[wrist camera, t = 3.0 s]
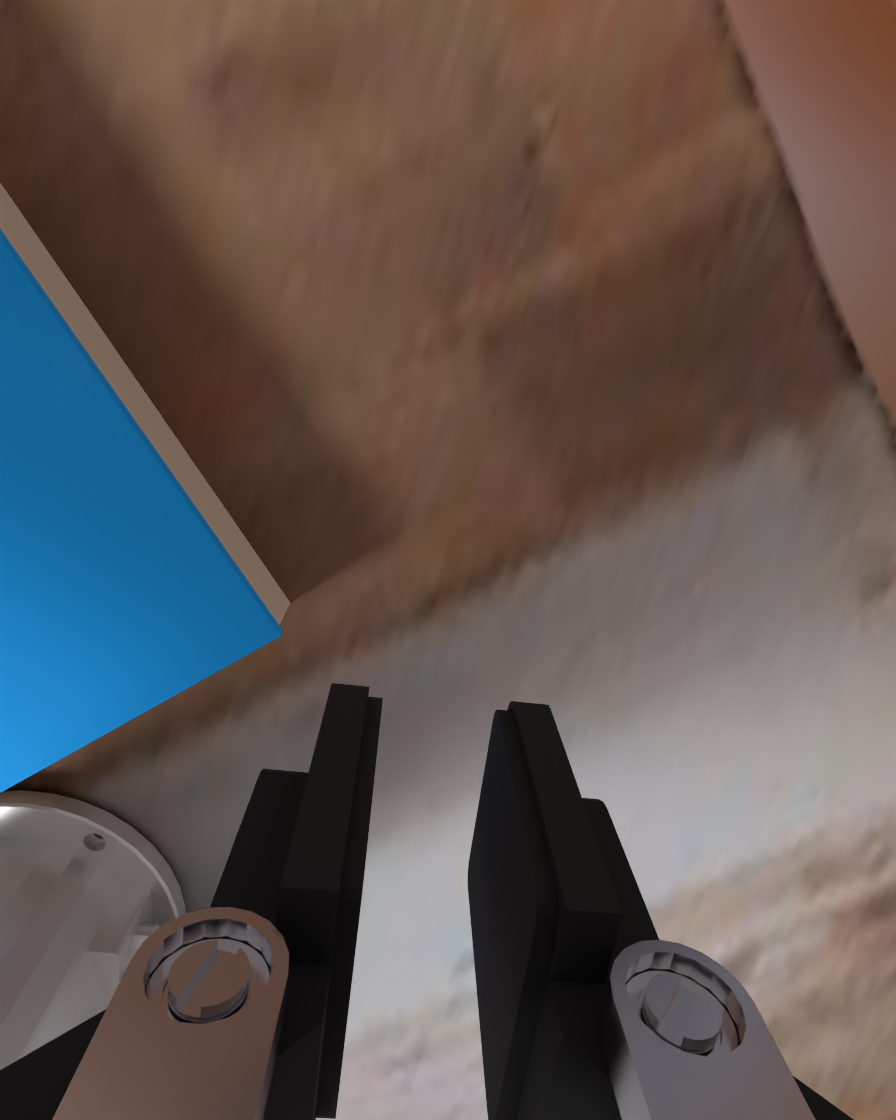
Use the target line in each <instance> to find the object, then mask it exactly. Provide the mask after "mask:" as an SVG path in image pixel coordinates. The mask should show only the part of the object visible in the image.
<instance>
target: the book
mask: <svg viewBox="0 0 896 1120" xmlns="http://www.w3.org/2000/svg"><path fill="white" fill-rule="evenodd" d="M289 605H290V601H289V600H288V599H287V597H286V596H285V594H284V593H283V591H282V590H281V588H280V587H279V586H278V584H277V583H276V581H275V580H274V578H273V577H272V575H271V574H270V572H269V571H268V570H267V568H266V567H265V565H264V564H263V562H262V561H261V559H260V558H259V557H258V555H257V554H256V552H255V551H254V549H253V548H252V546H251V545H250V544H249V542H248V541H247V539H246V538H245V536H244V535H243V533H242V532H241V530H240V529H239V528H238V526H237V525H236V523H235V522H234V520H233V519H232V517H231V516H230V515H229V513H228V512H227V510H226V509H225V507H224V506H223V504H222V503H221V502H220V500H219V499H218V497H217V496H216V494H215V493H214V491H213V490H212V488H211V487H210V486H209V484H208V483H207V481H206V480H205V478H204V477H203V475H202V474H201V473H200V471H199V470H198V468H197V467H196V465H195V464H194V462H193V461H192V460H191V458H190V457H189V455H188V454H187V452H186V451H185V449H184V448H183V446H182V445H181V444H180V442H179V441H178V439H177V438H176V436H175V435H174V433H173V432H172V431H171V429H170V428H169V426H168V425H167V423H166V422H165V420H164V419H163V418H162V416H161V415H160V413H159V412H158V410H157V409H156V407H155V406H154V405H153V403H152V402H151V400H150V399H149V397H148V396H147V394H146V393H145V391H144V390H143V389H142V387H141V386H140V384H139V383H138V381H137V380H136V378H135V377H134V376H133V374H132V373H131V371H130V370H129V368H128V367H127V365H126V364H125V363H124V361H123V360H122V358H121V357H120V355H119V354H118V352H117V351H116V349H115V348H114V347H113V345H112V344H111V342H110V341H109V339H108V338H107V336H106V335H105V334H104V332H103V331H102V329H101V328H100V326H99V325H98V323H97V322H96V321H95V319H94V318H93V316H92V315H91V313H90V312H89V310H88V309H87V307H86V306H85V305H84V303H83V302H82V300H81V299H80V297H79V296H78V294H77V293H76V292H75V290H74V289H73V287H72V286H71V284H70V283H69V281H68V280H67V279H66V277H65V276H64V274H63V273H62V271H61V270H60V268H59V267H58V265H57V264H56V263H55V261H54V260H53V258H52V257H51V255H50V254H49V252H48V251H47V250H46V248H45V247H44V245H43V244H42V242H41V241H40V239H39V238H38V237H37V235H36V234H35V232H34V231H33V229H32V228H31V226H30V225H29V223H28V222H27V221H26V219H25V218H24V216H23V215H22V213H21V212H20V210H19V209H18V208H17V206H16V205H15V203H14V202H13V200H12V199H11V197H10V196H9V195H8V193H7V192H6V190H5V189H4V187H3V186H2V184H1V183H0V793H1V792H3V791H5V790H6V789H8V788H10V787H12V786H14V785H15V784H17V783H19V782H21V781H23V780H24V779H26V778H28V777H30V776H31V775H33V774H35V773H37V772H39V771H40V770H42V769H44V768H46V767H48V766H49V765H51V764H53V763H55V762H57V761H58V760H60V759H62V758H64V757H65V756H67V755H69V754H71V753H73V752H74V751H76V750H78V749H80V748H82V747H83V746H85V745H87V744H89V743H91V742H92V741H94V740H96V739H98V738H100V737H101V736H103V735H105V734H107V733H108V732H110V731H112V730H114V729H116V728H117V727H119V726H121V725H123V724H125V723H126V722H128V721H130V720H132V719H134V718H135V717H137V716H139V715H141V714H142V713H144V712H146V711H148V710H150V709H151V708H153V707H155V706H157V705H159V704H160V703H162V702H164V701H166V700H168V699H169V698H171V697H173V696H175V695H176V694H178V693H180V692H182V691H184V690H185V689H187V688H189V687H191V686H193V685H194V684H196V683H198V682H200V681H202V680H203V679H205V678H207V677H209V676H210V675H212V674H214V673H216V672H218V671H219V670H221V669H223V668H225V667H227V666H228V665H230V664H232V663H234V662H236V661H237V660H239V659H241V658H243V657H245V656H246V655H248V654H250V653H252V652H253V651H255V650H257V649H259V648H261V647H262V646H264V645H266V644H268V643H270V642H271V641H273V640H275V639H277V638H279V637H280V636H281V635H282V633H283V630H282V628H281V627H280V626H279V625H280V623H281V621H282V619H283V617H284V615H285V613H286V611H287V609H288V607H289Z"/></svg>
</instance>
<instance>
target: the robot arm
mask: <svg viewBox="0 0 896 1120" xmlns="http://www.w3.org/2000/svg"><path fill="white" fill-rule="evenodd" d="M368 694H369V687H365V686H355V685H345V684H335V683H332V685H331V688H330V692H329V696H328V700H327V704H326V707H325V711H324V715H323V719H322V723H321V727H320V731H319V735H318V739H317V742H316V746H315V750H314V754H313V758H312V762H311V766H310V770H309V773H304V772H293V771H282V770H271V769H263V770H262V771H261V773H260V775H259V777H258V779H257V782H256V785H255V787H254V790H253V793H252V796H251V798H250V801H249V804H248V806H247V809H246V812H245V815H244V817H243V820H242V823H241V825H240V828H239V831H238V833H237V836H236V839H235V842H234V844H233V847H232V850H231V852H230V855H229V858H228V861H227V863H226V866H225V869H224V871H223V874H222V877H221V879H220V882H219V885H218V888H217V890H216V893H215V896H214V898H213V901H212V904H211V906H210V908H205V909H201V910H197V911H193V912H189V913H186V907H185V903H184V900H183V896H182V892H181V889H180V885H179V883H178V882H177V880H176V878H175V876H174V874H173V872H172V870H171V868H170V866H169V864H168V863H167V862H166V861H165V859H164V858H163V857H162V856H161V854H160V853H159V852H158V851H157V850H156V848H155V847H154V846H153V845H152V844H151V843H150V842H149V841H148V840H147V839H146V838H144V837H143V836H142V835H141V834H140V833H139V832H137V831H136V830H135V829H134V828H133V827H132V826H130V825H128V824H127V823H125V822H123V821H122V820H120V819H119V818H117V817H115V816H114V815H112V814H110V813H109V812H107V811H105V810H102V809H100V808H97V807H95V806H93V805H90V804H88V803H85V802H83V801H80V800H77V799H73V798H69V797H65V796H61V795H57V794H52V793H45V792H33V791H22V790H18V791H5V792H1V793H0V1120H315V1119H316V1118H333V1119H335V1117H336V1109H337V1101H338V1092H339V1084H340V1075H341V1067H342V1058H343V1050H344V1042H345V1033H346V1025H347V1016H348V1008H349V999H350V991H351V982H352V974H353V966H354V957H355V949H356V940H357V932H358V923H359V915H360V906H361V897H362V888H363V879H364V870H365V860H366V851H367V841H368V832H369V822H370V813H371V803H372V794H373V784H374V775H375V765H376V756H377V747H378V737H379V728H380V718H381V709H382V699H383V698H376V697H368ZM468 893H469V904H470V916H471V927H472V939H473V950H474V962H475V973H476V985H477V996H478V1008H479V1019H480V1031H481V1042H482V1054H483V1065H484V1077H485V1088H486V1100H487V1111H488V1119H489V1120H853V1119H852V1118H850V1117H849V1116H848V1115H846V1114H845V1113H844V1112H842V1111H841V1110H839V1109H838V1108H837V1107H835V1106H834V1105H833V1104H831V1103H830V1102H828V1101H827V1100H826V1099H824V1098H823V1097H822V1096H820V1095H819V1094H817V1093H816V1092H815V1091H813V1090H812V1089H810V1088H809V1087H808V1086H806V1085H805V1084H804V1083H802V1082H801V1081H799V1080H798V1079H797V1078H795V1077H794V1076H793V1075H792V1074H791V1072H790V1070H789V1068H788V1066H787V1064H786V1062H785V1060H784V1058H783V1056H782V1055H781V1053H780V1051H779V1049H778V1047H777V1045H776V1043H775V1041H774V1039H773V1037H772V1035H771V1034H770V1032H769V1030H768V1028H767V1026H766V1024H765V1022H764V1020H763V1018H762V1016H761V1014H760V1013H759V1011H758V1009H757V1007H756V1005H755V1003H754V1002H753V1000H752V999H751V997H750V996H749V994H748V993H747V991H746V990H745V989H744V987H743V986H742V984H741V983H740V982H739V981H738V980H737V979H736V978H735V977H734V976H733V975H732V974H731V973H729V972H728V971H727V970H726V969H725V968H724V967H723V966H722V965H720V964H719V963H717V962H716V961H714V960H713V959H711V958H710V957H708V956H707V955H705V954H703V953H702V952H699V951H697V950H695V949H692V948H690V947H687V946H685V945H682V944H679V943H674V942H669V941H663V940H659V938H658V936H657V933H656V931H655V928H654V925H653V923H652V920H651V918H650V915H649V913H648V910H647V908H646V905H645V903H644V900H643V898H642V895H641V893H640V890H639V888H638V885H637V883H636V880H635V878H634V875H633V873H632V870H631V868H630V865H629V863H628V860H627V858H626V855H625V853H624V850H623V847H622V845H621V842H620V840H619V837H618V835H617V832H616V830H615V827H614V825H613V822H612V820H611V817H610V815H609V812H608V810H607V808H606V806H605V804H604V802H602V801H601V800H599V799H589V798H582V797H581V794H580V791H579V789H578V786H577V783H576V780H575V777H574V774H573V772H572V769H571V766H570V763H569V760H568V757H567V754H566V752H565V749H564V746H563V743H562V740H561V737H560V735H559V732H558V729H557V726H556V723H555V720H554V717H553V715H552V712H551V709H550V707H549V705H543V704H533V703H523V702H514V701H511V702H510V704H509V707H508V710H507V711H506V710H496V711H495V714H494V718H493V724H492V729H491V735H490V741H489V747H488V753H487V759H486V765H485V770H484V776H483V782H482V788H481V794H480V800H479V806H478V811H477V817H476V823H475V829H474V835H473V841H472V847H471V853H470V859H469V867H468Z"/></svg>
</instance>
